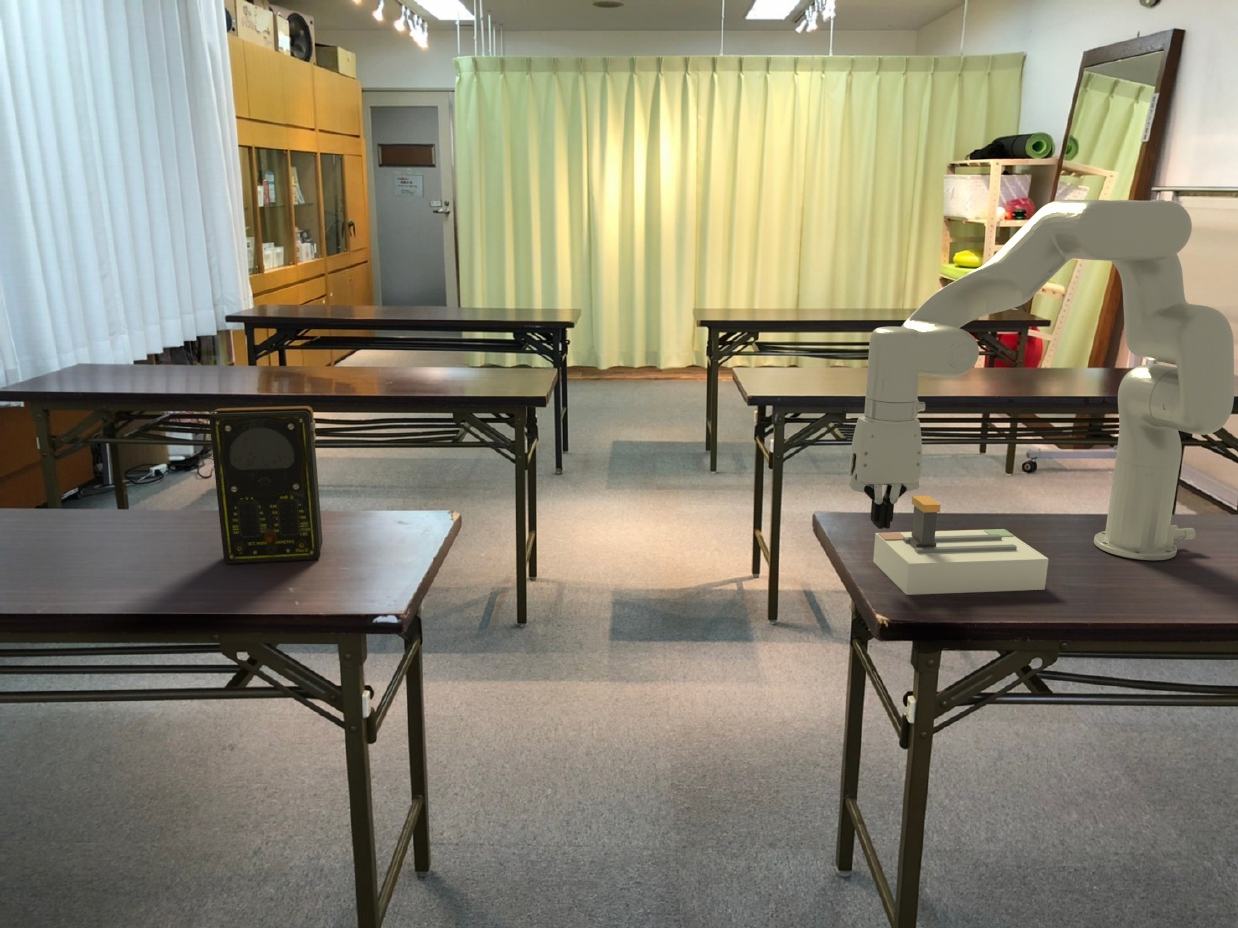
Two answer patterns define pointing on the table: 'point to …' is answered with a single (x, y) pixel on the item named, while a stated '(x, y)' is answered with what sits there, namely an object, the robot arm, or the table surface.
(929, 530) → the handle
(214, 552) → the table surface
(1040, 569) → the switch box
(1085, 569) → the table surface
